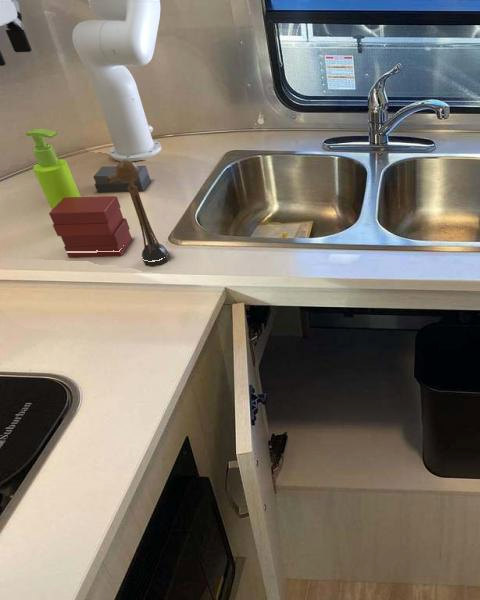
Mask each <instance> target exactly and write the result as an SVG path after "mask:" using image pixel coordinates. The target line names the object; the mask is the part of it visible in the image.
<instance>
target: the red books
mask: <svg viewBox="0 0 480 600" xmlns="http://www.w3.org/2000/svg"><path fill="white" fill-rule="evenodd" d="M52 226H53V229H54V232H55V233H56V235H57V237H60V238H61V240H62V243H63V244H64V246H63V248H64V250H65V252H66V251H96V250H98V251H113V250H114V251H119V250H120V249H121V248H122V249H121V250H120V252H97V253H66V255H67V257H68V258H102V257H103V258H105V257H122V255H123V254H124V252H125V251H126V249H127V248H128V247H129V245H130V243H131V242H132V239H133V237H132V234H131V232H130V229H131V228H130V225H129V223H128V220H127V218H125V217H124V216H123V213H122V210H121V208H120V209H119V210H118V211H117V213H116V214H115V215H114V217H113V218H112V219H111V221H110V222H109V223H96V224H58V225H54V223H53V224H52ZM123 245H124V246H123Z"/></svg>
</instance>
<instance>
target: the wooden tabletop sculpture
mask: <svg viewBox="0 0 480 600" xmlns="http://www.w3.org/2000/svg"><path fill="white" fill-rule="evenodd" d="M115 166H116V168H115V174H112V175H109V176H107V177H106V178H107V180H108V182H113V181H115V180H119V181H121V182H123V183H128V184H129V187H128V188H127V189H128V190H129V192H128V193H129V195H130V198H131V201H132V203H133V204H132V205H133V206H134V210H135V213H136V216H137V218H138V223H139V226H140V230H141V235H142V240H143V247H144V248H143V249H142V252H141V258H142V257H143V258H142V262H143V263H144V265H145V267H151V268H152V267H158V266H162V265H164V264H166V263H168V262H169V261H170V258H171V255H170V253H169V251H168V250H167V248H166V247H165V245H163V244H161V243H160V242H159V241H158V239H157V237H156V235H155V233H154V231H153V228H152V226H151V224H150V221H149V218H148V216H147V213H146V211H145V208H144V204H143V201H142V199H141V197H140V191H138V190H137V186H135V185H134V184H133V181H135V180H136V179H137V177H138V175H139V170H138V168H137V166H138V165H137V164H136V163H135V161H129V160H123V161H118V163H117V164H116V165H115ZM167 254H168V255H167ZM164 257H165V258H164ZM161 258H163V259H162V260H160V261H155V262H148V261H152V260H159V259H161ZM143 259H144V260H148V261H144V260H143Z"/></svg>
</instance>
